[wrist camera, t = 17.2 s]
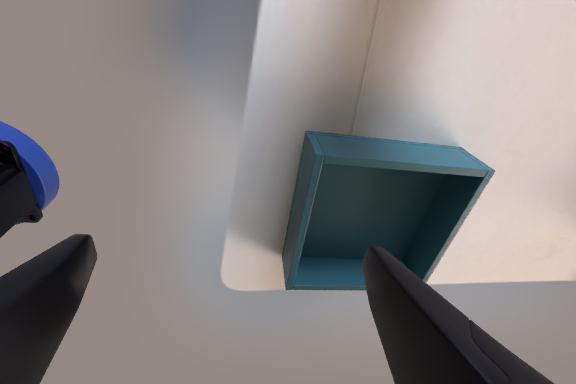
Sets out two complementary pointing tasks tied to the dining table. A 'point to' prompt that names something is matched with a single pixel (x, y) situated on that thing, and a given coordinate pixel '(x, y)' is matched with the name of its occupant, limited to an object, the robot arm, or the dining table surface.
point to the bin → (375, 207)
